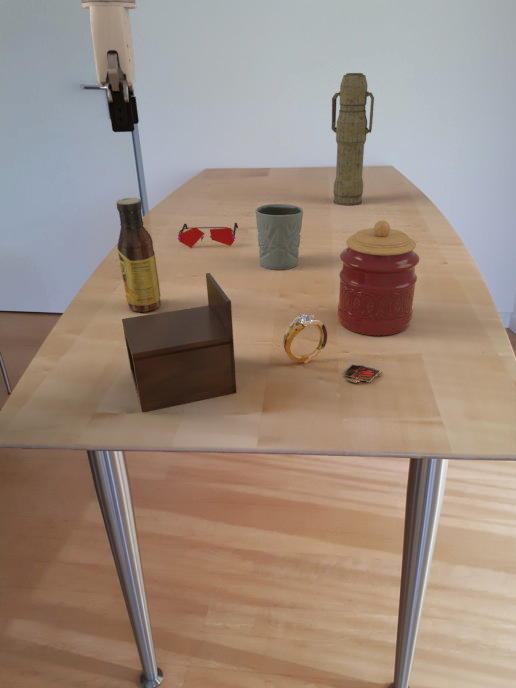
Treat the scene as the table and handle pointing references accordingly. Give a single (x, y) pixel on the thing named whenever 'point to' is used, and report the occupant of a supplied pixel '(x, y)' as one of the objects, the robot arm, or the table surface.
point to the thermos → (351, 137)
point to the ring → (303, 321)
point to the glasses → (217, 235)
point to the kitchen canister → (377, 281)
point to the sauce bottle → (137, 258)
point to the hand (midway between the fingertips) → (126, 127)
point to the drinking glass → (279, 235)
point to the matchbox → (361, 373)
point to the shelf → (183, 352)
